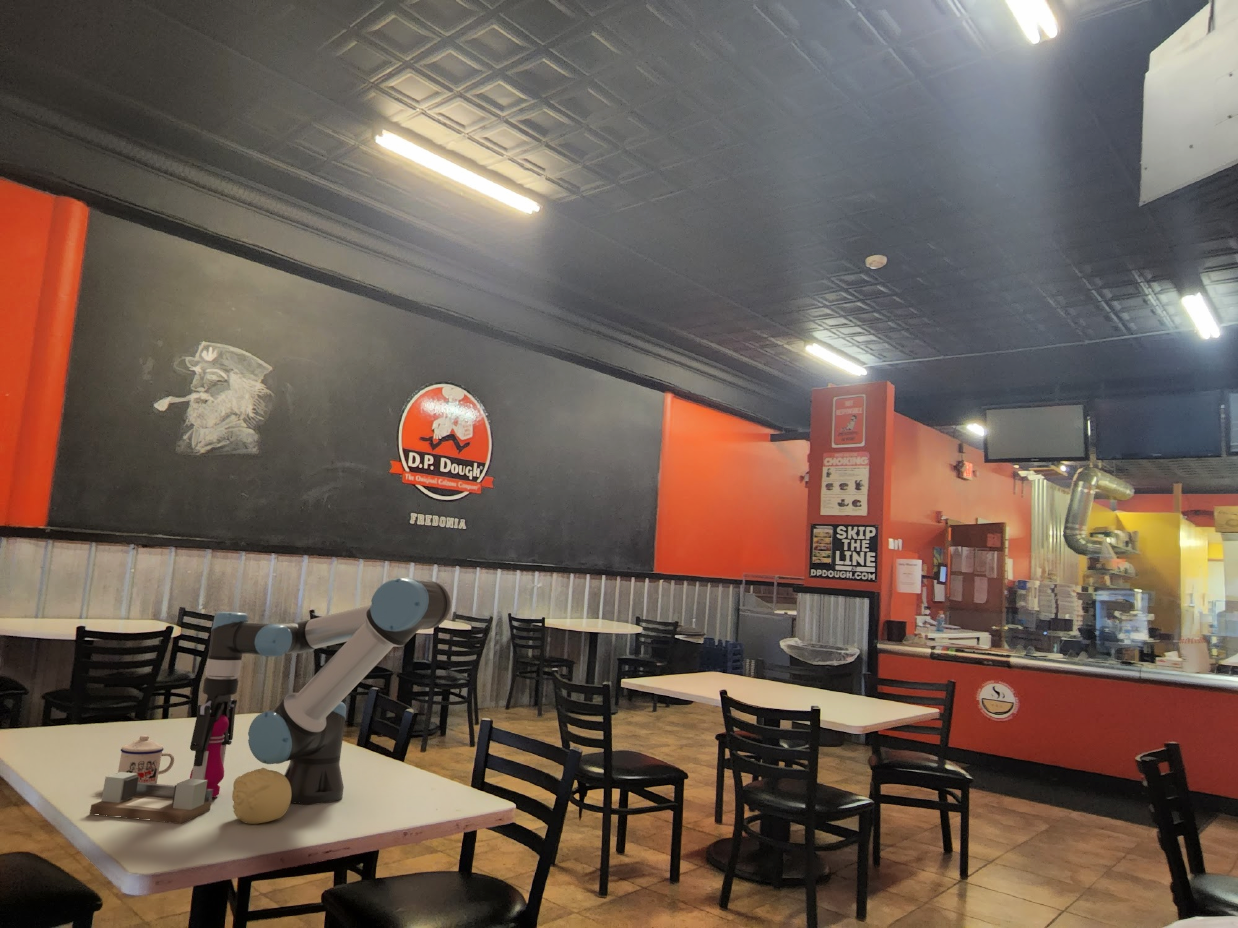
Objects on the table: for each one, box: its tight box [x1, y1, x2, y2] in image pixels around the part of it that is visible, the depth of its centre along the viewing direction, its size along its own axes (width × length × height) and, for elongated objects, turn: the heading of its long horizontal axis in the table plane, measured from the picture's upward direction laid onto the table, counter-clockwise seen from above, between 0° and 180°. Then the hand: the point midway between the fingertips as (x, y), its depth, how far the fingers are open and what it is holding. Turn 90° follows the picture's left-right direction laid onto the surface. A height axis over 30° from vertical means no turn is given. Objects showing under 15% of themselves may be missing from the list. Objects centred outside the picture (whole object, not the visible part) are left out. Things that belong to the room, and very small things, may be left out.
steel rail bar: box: [136, 782, 213, 802], centre depth 180 cm, size 20×1×2 cm, turn 87°
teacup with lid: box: [117, 734, 175, 784], centre depth 196 cm, size 12×9×12 cm
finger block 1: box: [101, 772, 139, 803], centre depth 175 cm, size 5×5×5 cm
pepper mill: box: [189, 715, 229, 798], centre depth 190 cm, size 7×7×20 cm
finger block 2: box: [172, 778, 207, 810], centre depth 174 cm, size 5×5×5 cm
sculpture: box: [231, 767, 292, 825], centre depth 176 cm, size 12×12×11 cm
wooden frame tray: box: [89, 795, 212, 824], centre depth 174 cm, size 20×11×2 cm, turn 87°
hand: (207, 776), depth 189 cm, fingers closed on pepper mill, 7 cm apart
